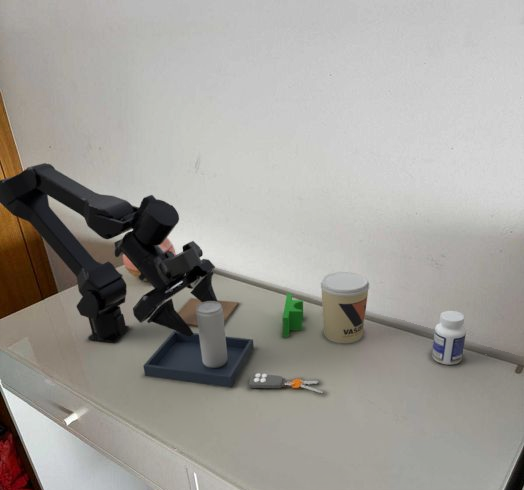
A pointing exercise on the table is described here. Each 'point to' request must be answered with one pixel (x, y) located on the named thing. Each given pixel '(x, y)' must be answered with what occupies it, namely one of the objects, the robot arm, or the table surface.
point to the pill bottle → (449, 338)
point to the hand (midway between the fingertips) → (206, 323)
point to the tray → (197, 360)
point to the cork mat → (190, 310)
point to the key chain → (278, 382)
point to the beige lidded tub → (344, 306)
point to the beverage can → (212, 334)
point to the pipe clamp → (292, 315)
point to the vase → (135, 272)
